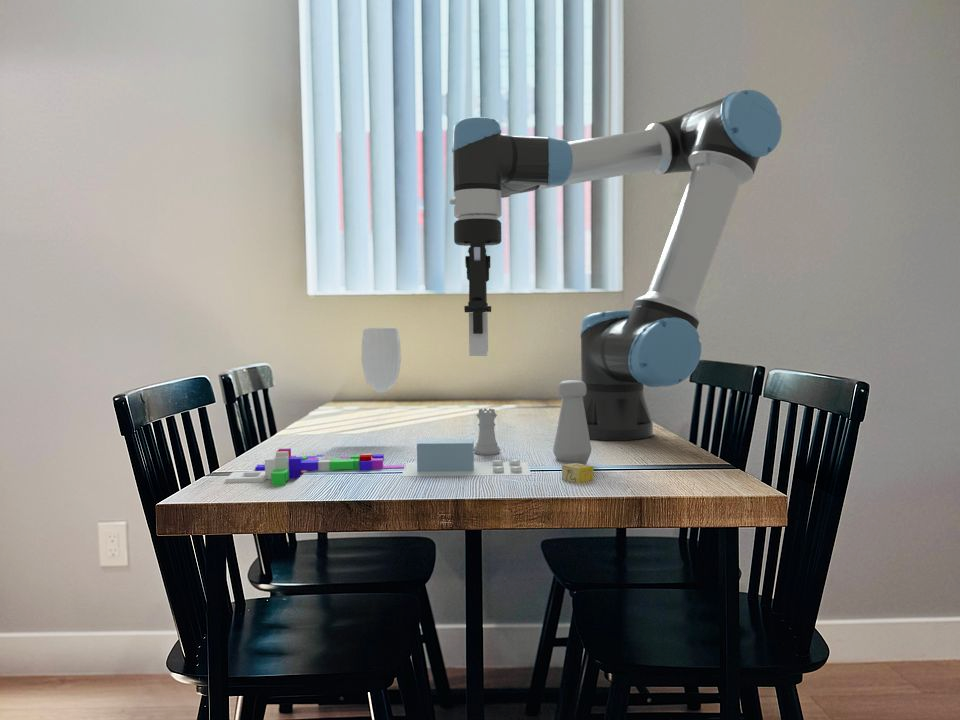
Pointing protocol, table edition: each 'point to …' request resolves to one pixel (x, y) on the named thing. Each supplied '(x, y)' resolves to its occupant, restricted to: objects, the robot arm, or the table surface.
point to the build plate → (477, 469)
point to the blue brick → (445, 455)
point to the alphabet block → (577, 472)
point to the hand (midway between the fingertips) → (479, 353)
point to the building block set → (306, 466)
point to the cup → (381, 357)
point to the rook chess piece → (486, 433)
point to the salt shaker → (572, 424)
